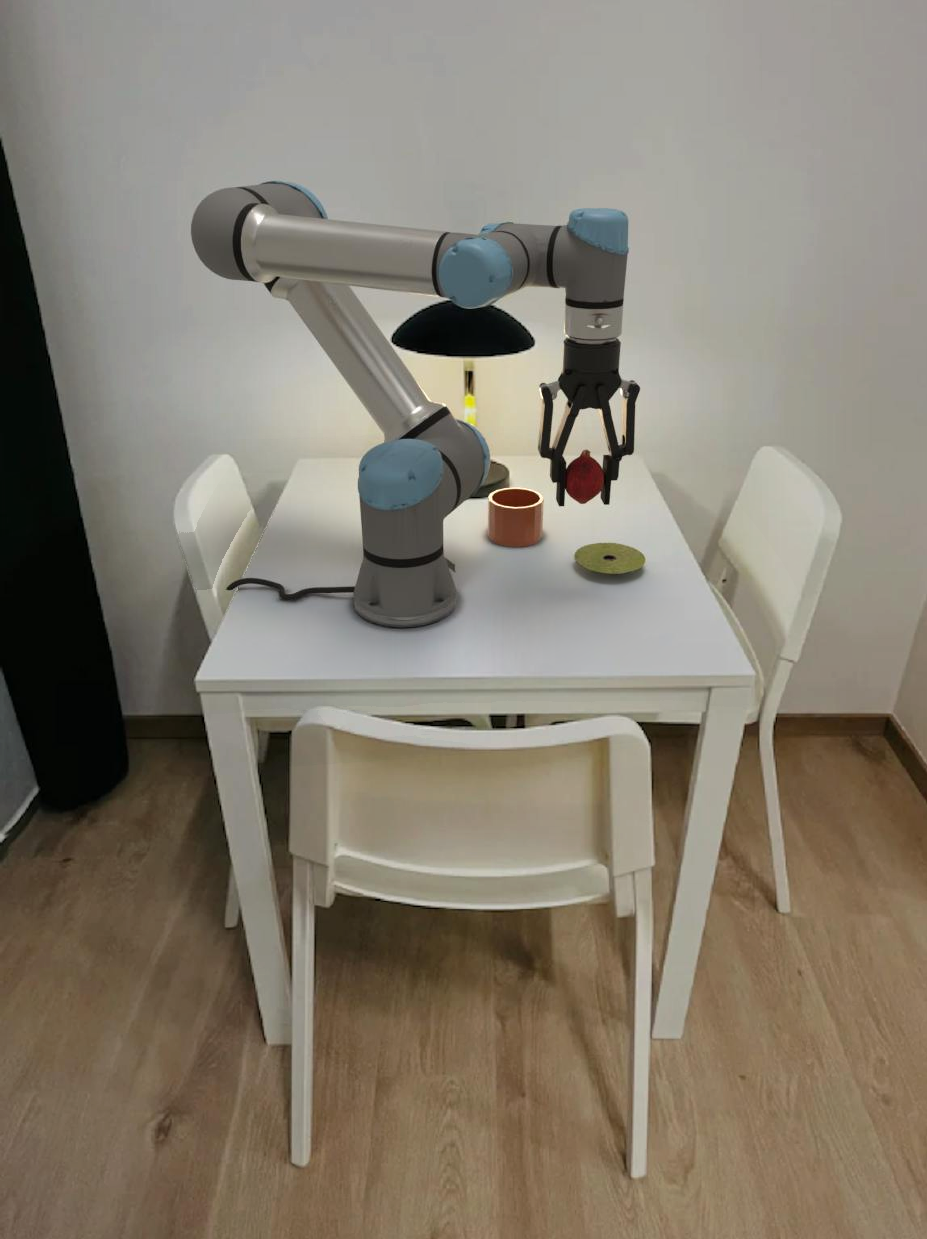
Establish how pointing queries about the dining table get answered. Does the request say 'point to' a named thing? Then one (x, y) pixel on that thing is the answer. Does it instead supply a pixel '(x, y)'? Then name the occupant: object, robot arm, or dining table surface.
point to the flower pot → (515, 517)
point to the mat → (609, 558)
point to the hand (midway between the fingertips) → (582, 501)
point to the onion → (584, 478)
